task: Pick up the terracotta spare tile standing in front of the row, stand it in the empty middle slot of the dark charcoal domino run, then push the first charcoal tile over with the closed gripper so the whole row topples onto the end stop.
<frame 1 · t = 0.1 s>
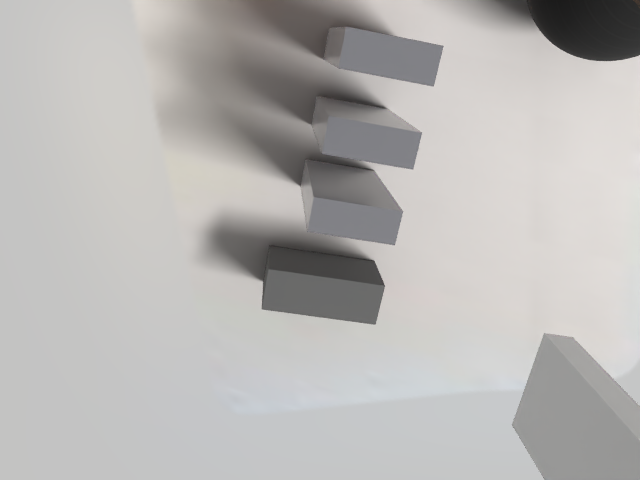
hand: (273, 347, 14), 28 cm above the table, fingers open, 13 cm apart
domino 5: (349, 117, 39), on the table
domino 4: (362, 51, 38), on the table
end stop: (318, 271, 43), on the table
domino 6: (337, 178, 41), on the table
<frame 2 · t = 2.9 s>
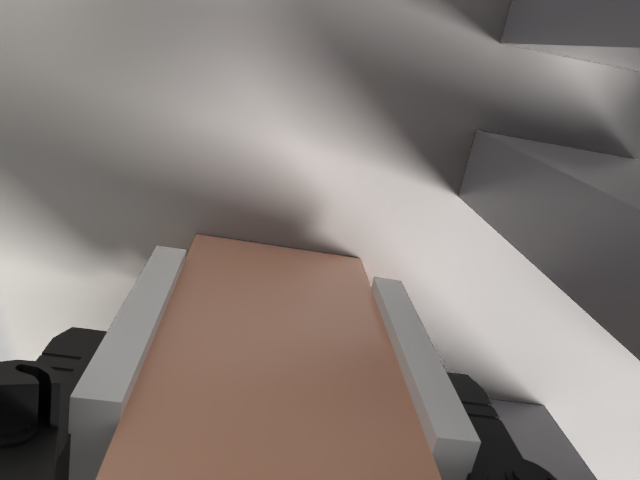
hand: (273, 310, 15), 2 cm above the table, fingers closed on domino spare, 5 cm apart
domino 2: (546, 177, 17), on the table
domino 4: (468, 421, 20), on the table
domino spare: (274, 276, 18), on the table, touching gripper
domino 1: (596, 22, 16), on the table
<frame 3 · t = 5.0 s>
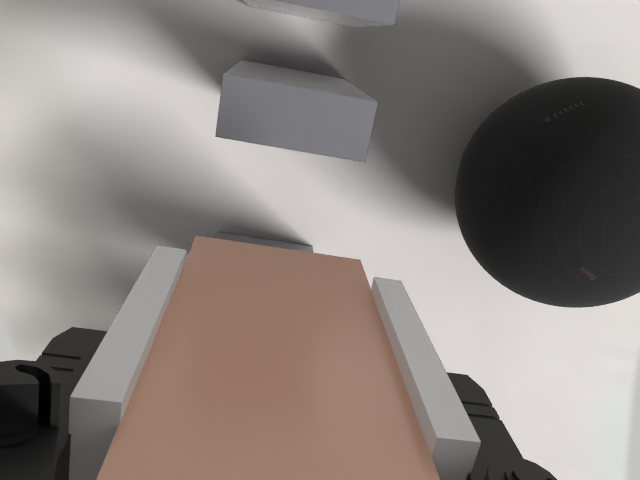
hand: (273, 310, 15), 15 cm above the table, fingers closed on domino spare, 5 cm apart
domino 2: (290, 90, 28), on the table
domino 4: (263, 256, 31), on the table
black ball: (523, 168, 30), on the table
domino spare: (274, 277, 18), point 13 cm above the table, touching gripper
when the fingers open (3 cm above the table, at t = 7.2 s): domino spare drops 1 cm, on the table.
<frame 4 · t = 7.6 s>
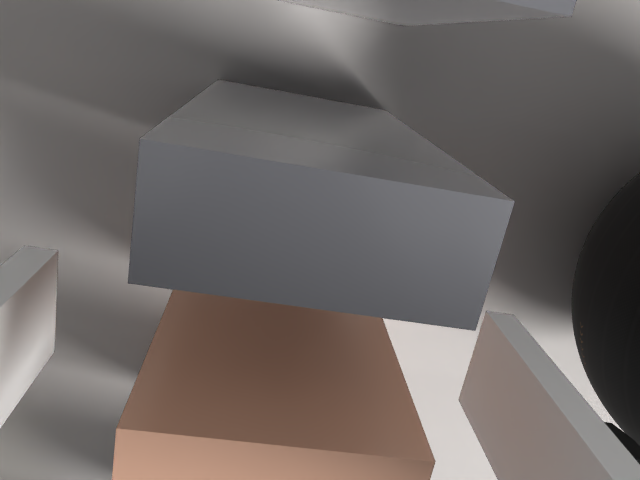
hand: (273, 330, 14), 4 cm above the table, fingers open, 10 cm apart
domino 2: (297, 128, 17), on the table
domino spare: (274, 263, 19), on the table
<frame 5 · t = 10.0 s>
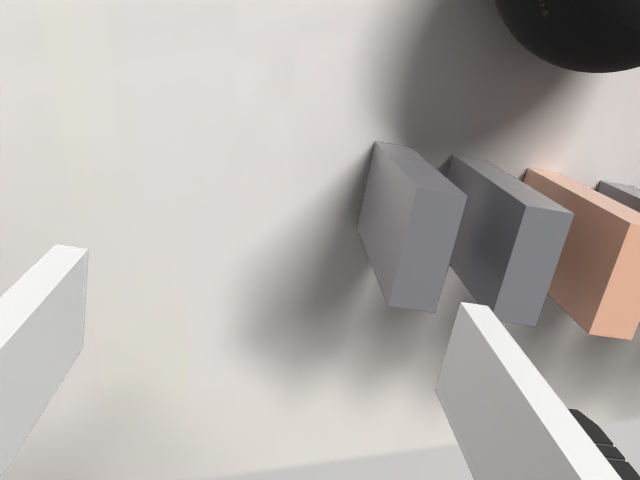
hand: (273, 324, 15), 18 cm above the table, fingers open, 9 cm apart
domino 2: (458, 200, 32), on the table
domino 4: (601, 224, 33), on the table
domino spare: (531, 212, 33), on the table
domino 1: (383, 188, 32), on the table
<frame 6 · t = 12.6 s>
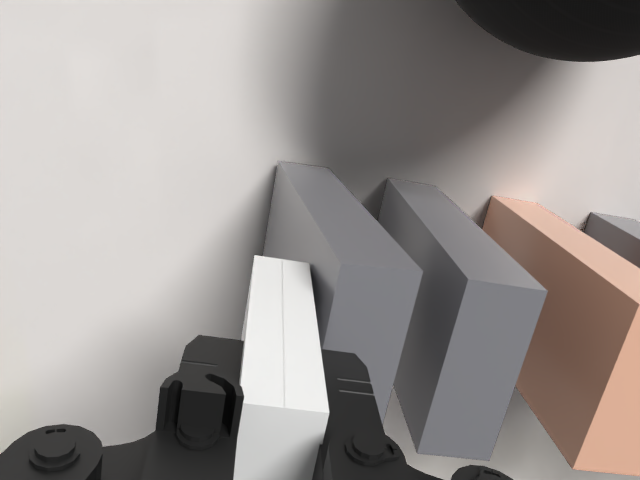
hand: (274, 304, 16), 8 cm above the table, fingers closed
domino 2: (397, 240, 24), on the table
domino 4: (592, 270, 25), on the table
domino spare: (497, 255, 24), on the table
domino 1: (292, 225, 23), on the table, tilted 8°
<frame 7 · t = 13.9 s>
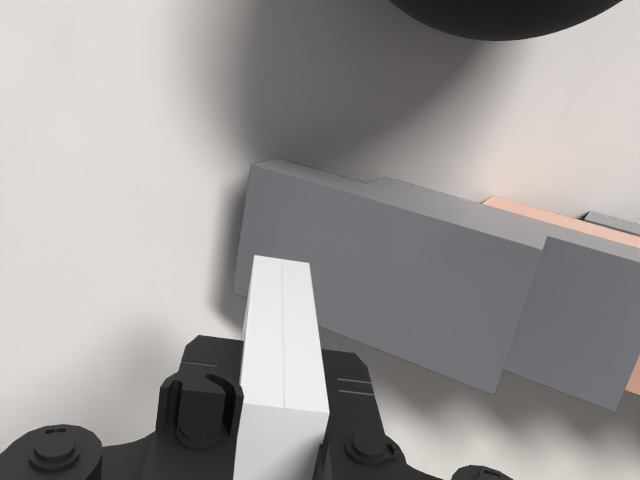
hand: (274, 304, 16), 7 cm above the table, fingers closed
domino 2: (363, 242, 22), point 1 cm above the table, tilted 60°, touching domino 1, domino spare
domino 4: (567, 272, 23), point 1 cm above the table, tilted 55°, touching domino 5, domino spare
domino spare: (470, 259, 23), point 1 cm above the table, tilted 58°, touching domino 2, domino 4
domino 1: (255, 225, 22), point 1 cm above the table, tilted 61°, touching domino 2
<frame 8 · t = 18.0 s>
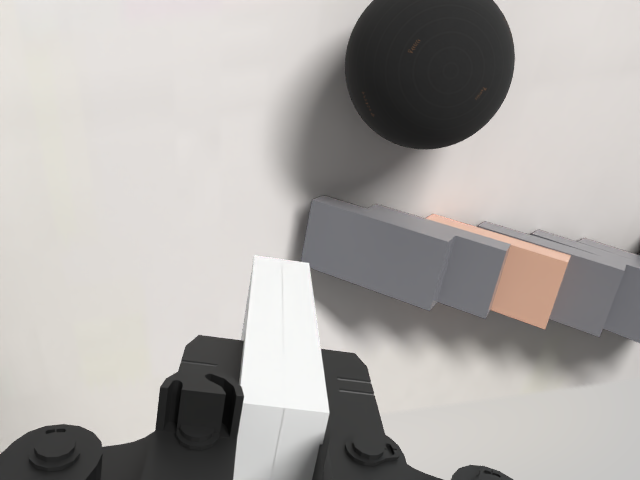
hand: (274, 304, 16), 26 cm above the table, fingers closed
domino 2: (364, 237, 43), point 1 cm above the table, tilted 60°, touching domino 1, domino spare
domino 5: (525, 261, 44), point 1 cm above the table, tilted 51°, touching domino 4, domino 6
domino 4: (472, 254, 44), point 1 cm above the table, tilted 55°, touching domino 5, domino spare
black ball: (409, 61, 40), on the table
domino 6: (571, 269, 45), point 1 cm above the table, tilted 47°, touching domino 5, end stop
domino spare: (421, 247, 43), point 1 cm above the table, tilted 57°, touching domino 2, domino 4
domino 1: (312, 229, 42), point 1 cm above the table, tilted 60°, touching domino 2
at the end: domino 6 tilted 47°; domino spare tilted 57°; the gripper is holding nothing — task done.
